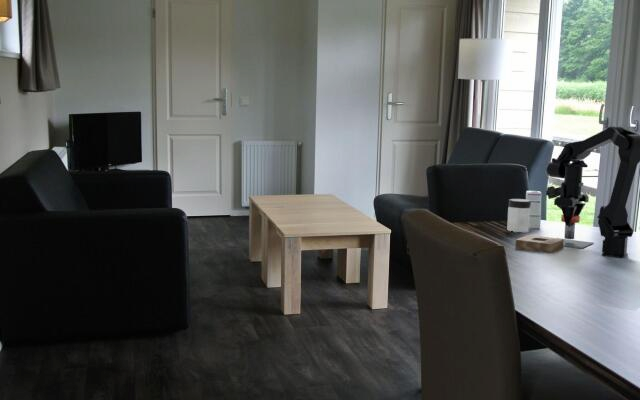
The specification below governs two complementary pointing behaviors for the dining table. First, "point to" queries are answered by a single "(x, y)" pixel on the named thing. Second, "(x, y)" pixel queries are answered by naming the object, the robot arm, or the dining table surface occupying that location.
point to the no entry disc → (570, 226)
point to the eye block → (539, 243)
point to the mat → (576, 243)
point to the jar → (518, 215)
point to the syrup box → (534, 208)
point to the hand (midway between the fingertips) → (570, 224)
